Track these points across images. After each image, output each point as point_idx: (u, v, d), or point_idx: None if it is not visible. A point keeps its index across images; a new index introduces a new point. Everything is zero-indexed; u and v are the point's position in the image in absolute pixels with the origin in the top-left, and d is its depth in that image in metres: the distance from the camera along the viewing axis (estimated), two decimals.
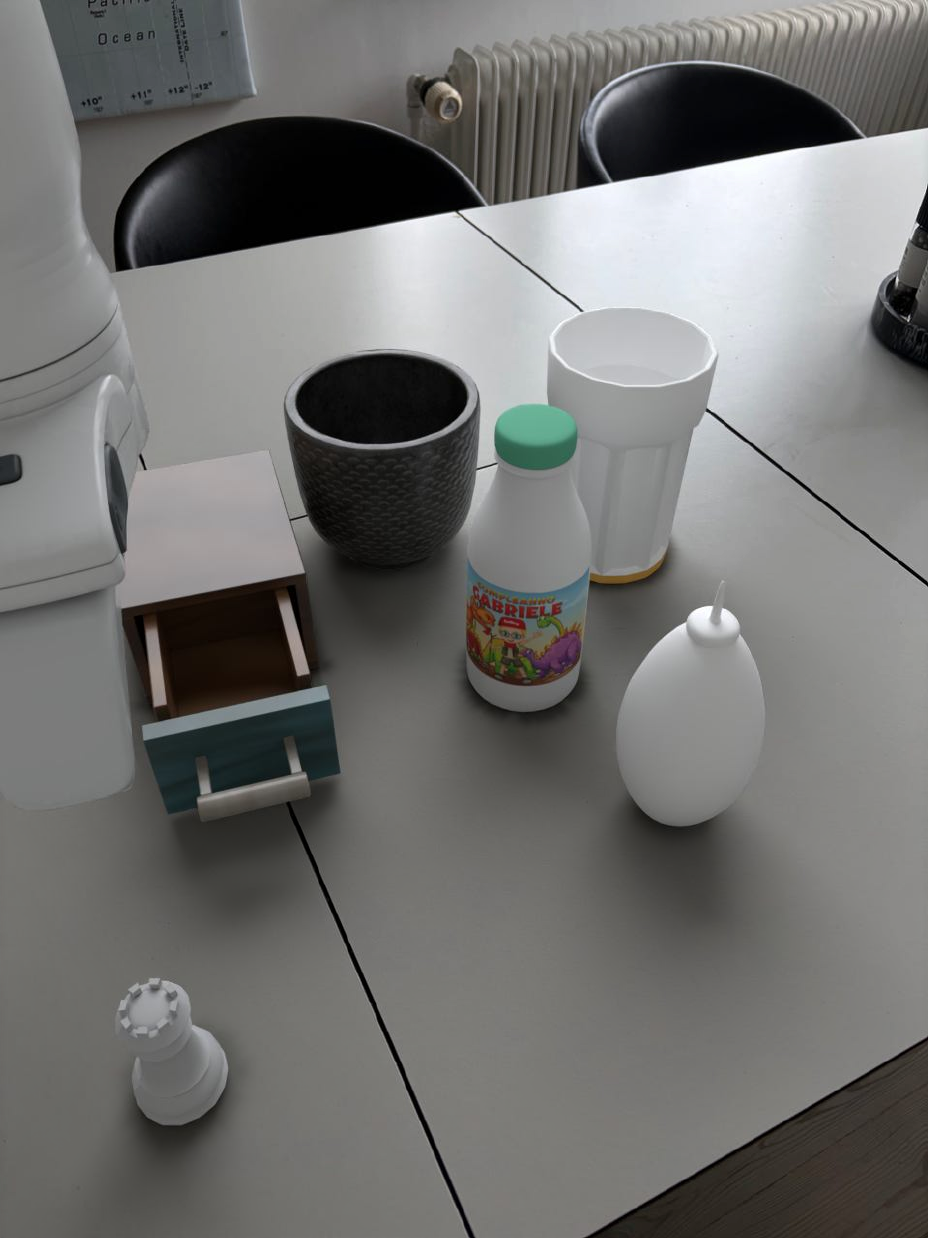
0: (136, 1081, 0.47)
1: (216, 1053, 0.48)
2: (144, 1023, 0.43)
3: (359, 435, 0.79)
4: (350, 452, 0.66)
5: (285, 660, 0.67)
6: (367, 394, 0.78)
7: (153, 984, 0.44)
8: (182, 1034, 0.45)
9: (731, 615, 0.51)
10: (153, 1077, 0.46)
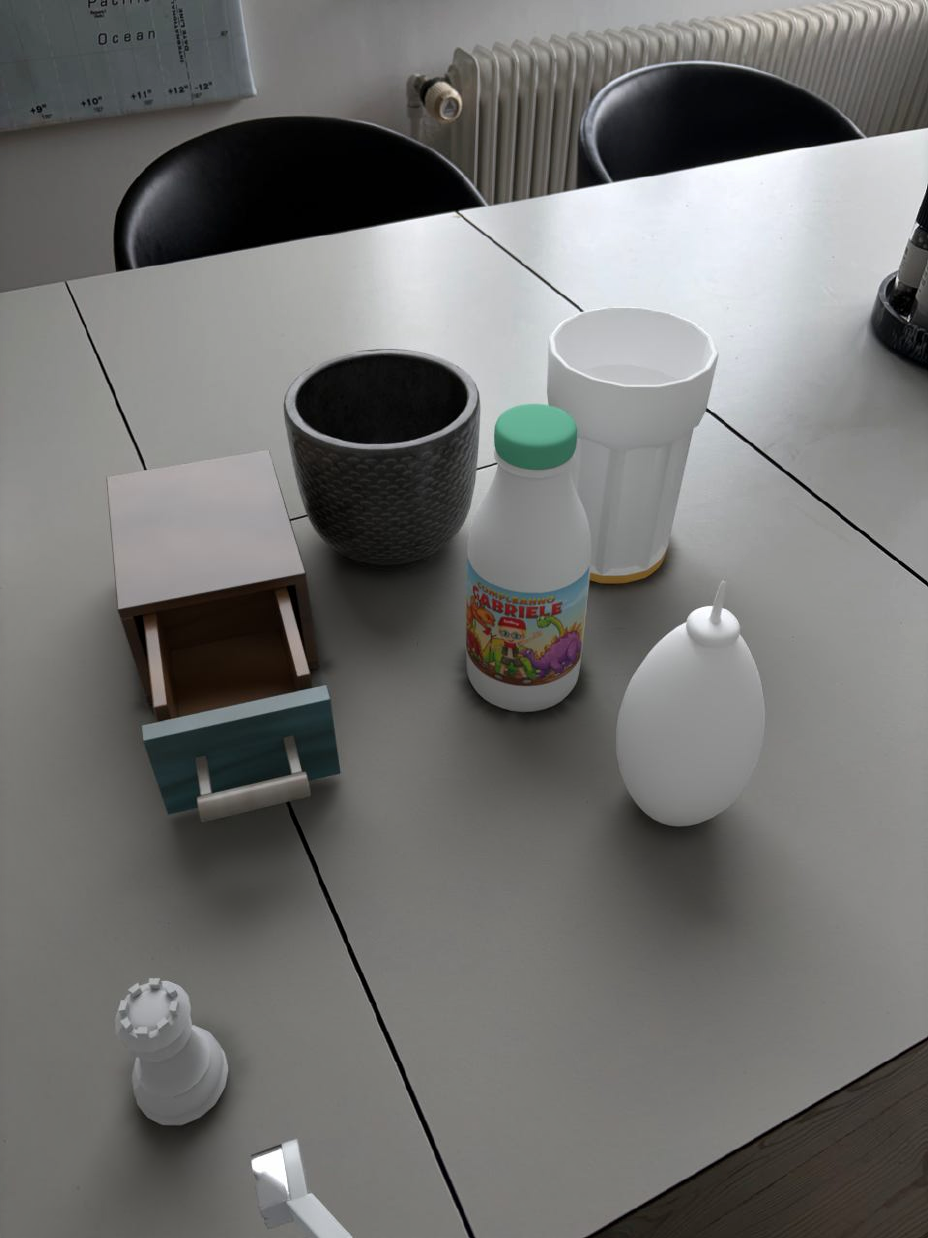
0: (136, 1081, 0.47)
1: (216, 1053, 0.48)
2: (144, 1023, 0.43)
3: (359, 435, 0.79)
4: (350, 451, 0.66)
5: (285, 660, 0.67)
6: (367, 394, 0.78)
7: (153, 984, 0.44)
8: (182, 1034, 0.45)
9: (731, 615, 0.51)
10: (153, 1077, 0.46)
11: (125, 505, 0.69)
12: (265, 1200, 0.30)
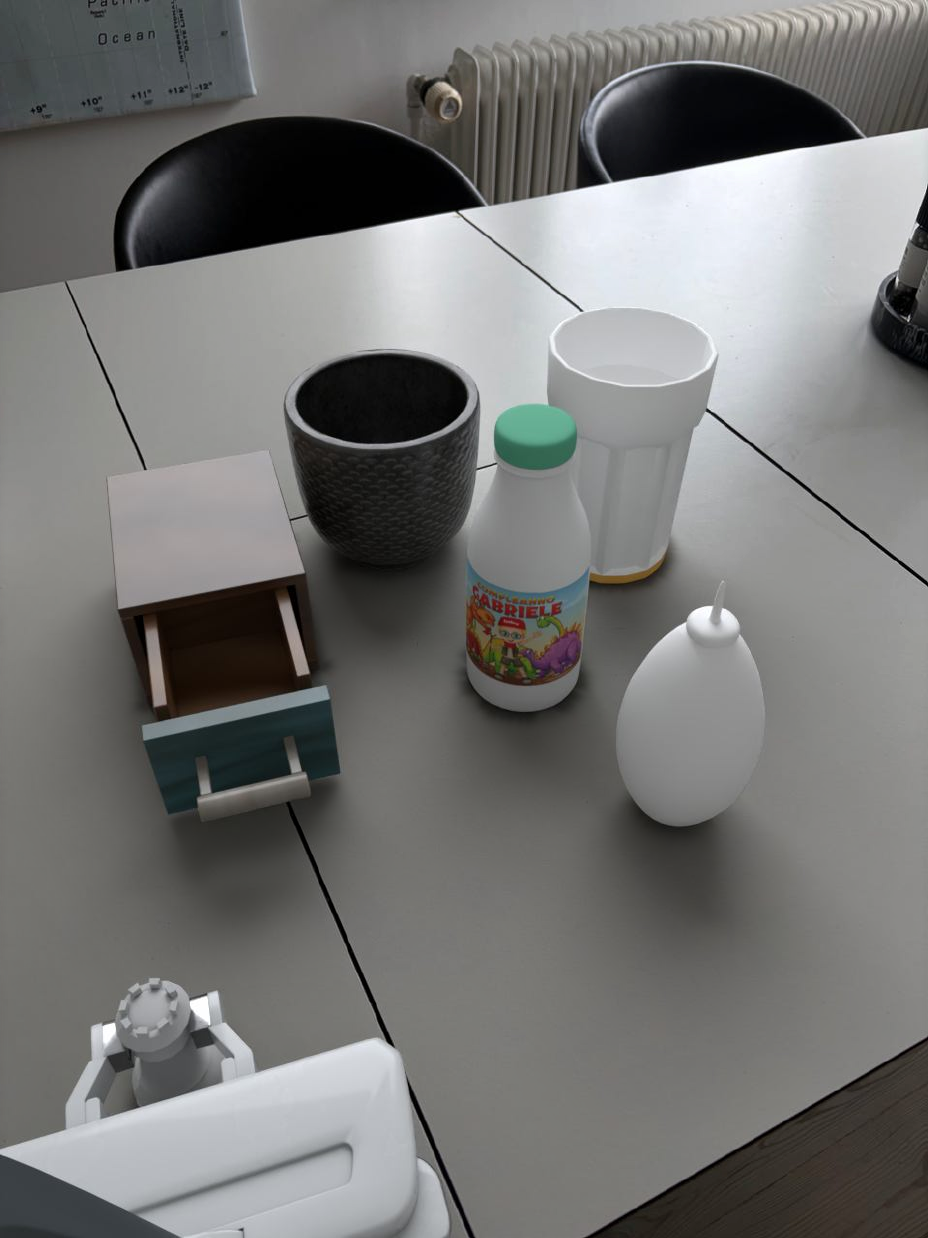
0: (136, 1081, 0.47)
1: (216, 1053, 0.48)
2: (144, 1023, 0.43)
3: (359, 435, 0.79)
4: (350, 451, 0.66)
5: (285, 660, 0.67)
6: (367, 394, 0.78)
7: (153, 984, 0.44)
8: (182, 1034, 0.45)
9: (731, 615, 0.51)
10: (153, 1077, 0.46)
11: (125, 505, 0.69)
12: (194, 1026, 0.44)
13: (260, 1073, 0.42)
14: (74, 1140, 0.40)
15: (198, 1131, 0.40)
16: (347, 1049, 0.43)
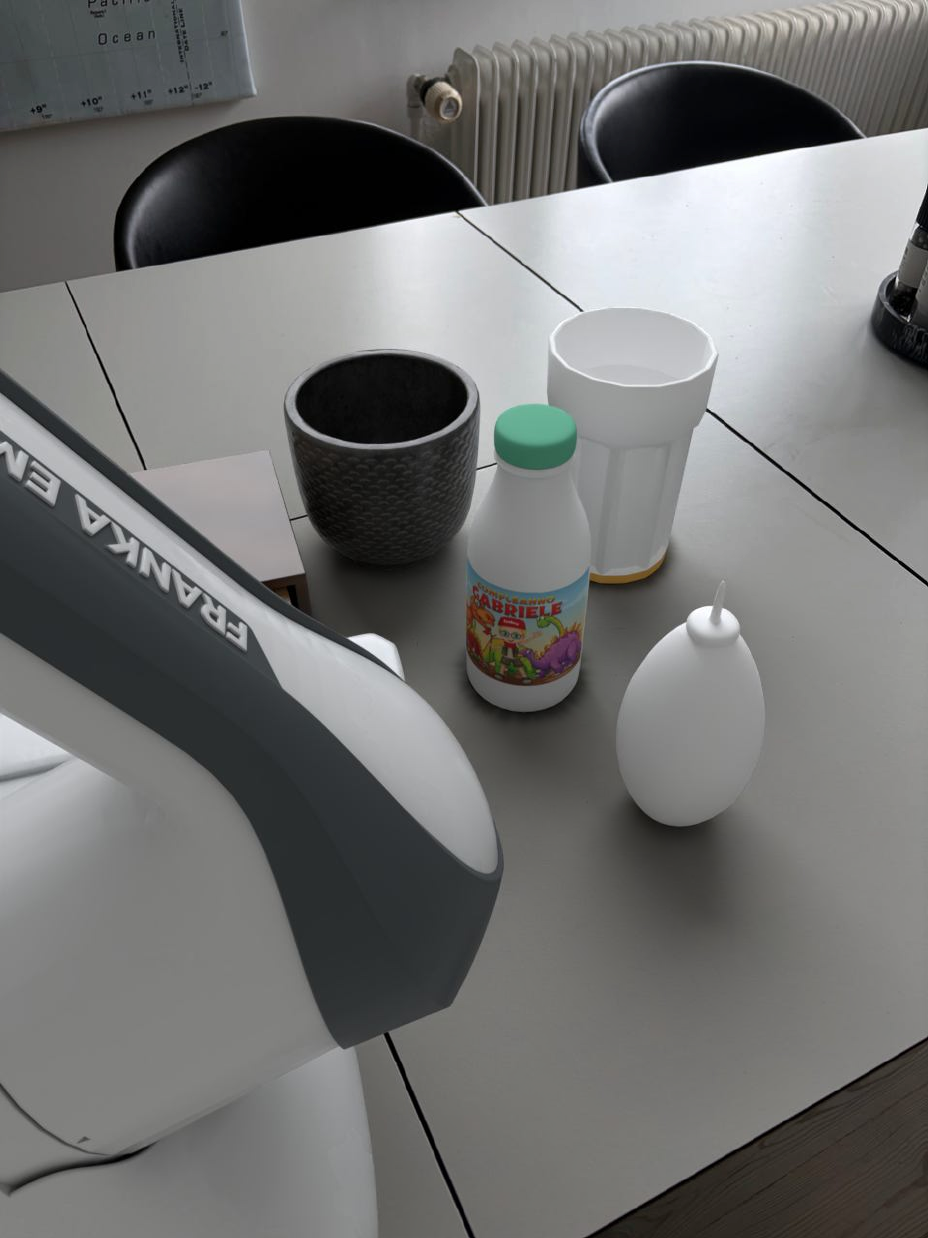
0: None
1: None
2: None
3: (359, 435, 0.79)
4: (350, 452, 0.66)
5: None
6: (367, 394, 0.78)
7: None
8: None
9: (731, 615, 0.51)
10: None
11: None
12: None
13: None
14: None
15: None
16: None
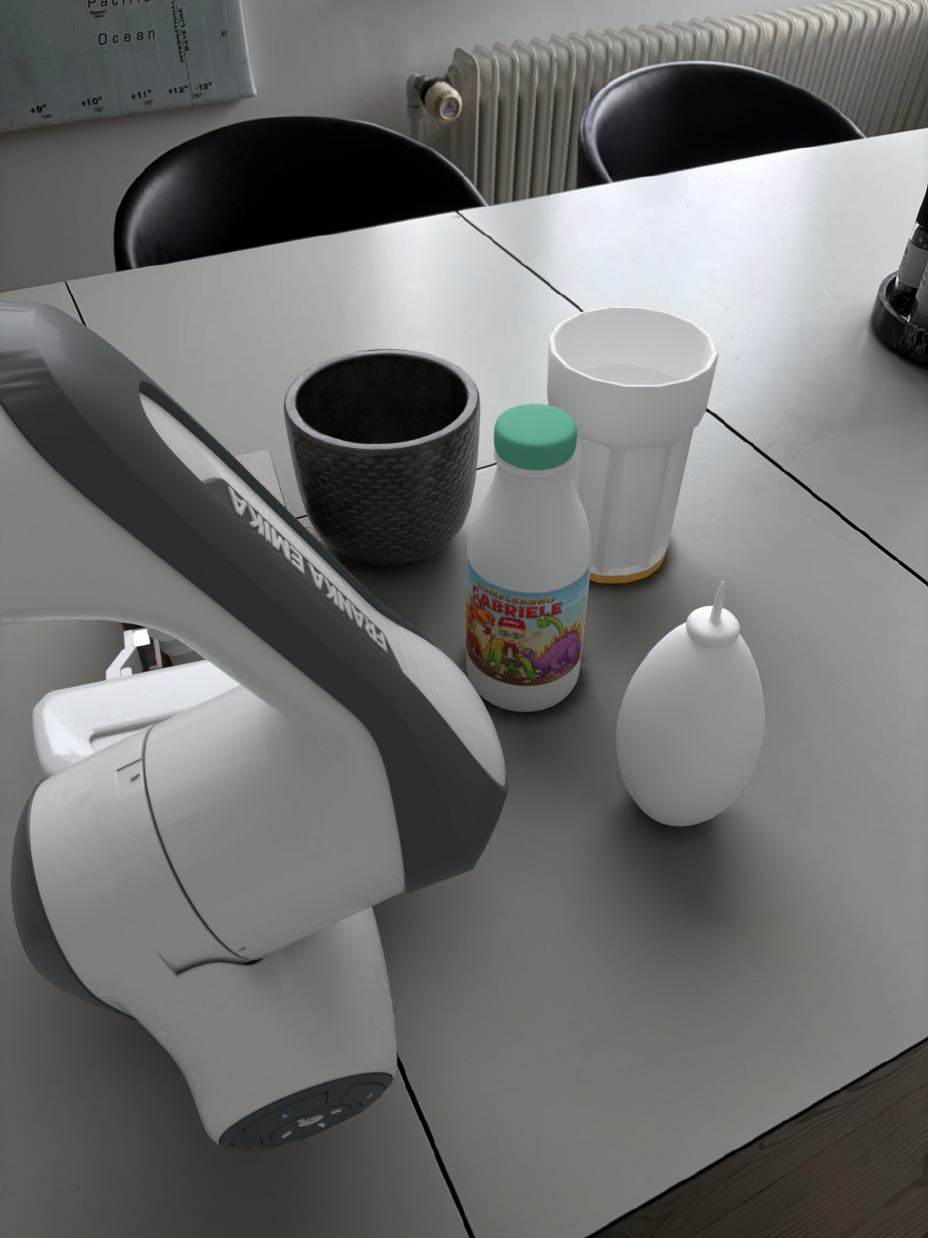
0: None
1: None
2: None
3: (359, 435, 0.79)
4: (350, 451, 0.66)
5: None
6: (367, 394, 0.78)
7: None
8: None
9: (731, 615, 0.51)
10: None
11: None
12: None
13: None
14: (161, 673, 0.54)
15: None
16: None
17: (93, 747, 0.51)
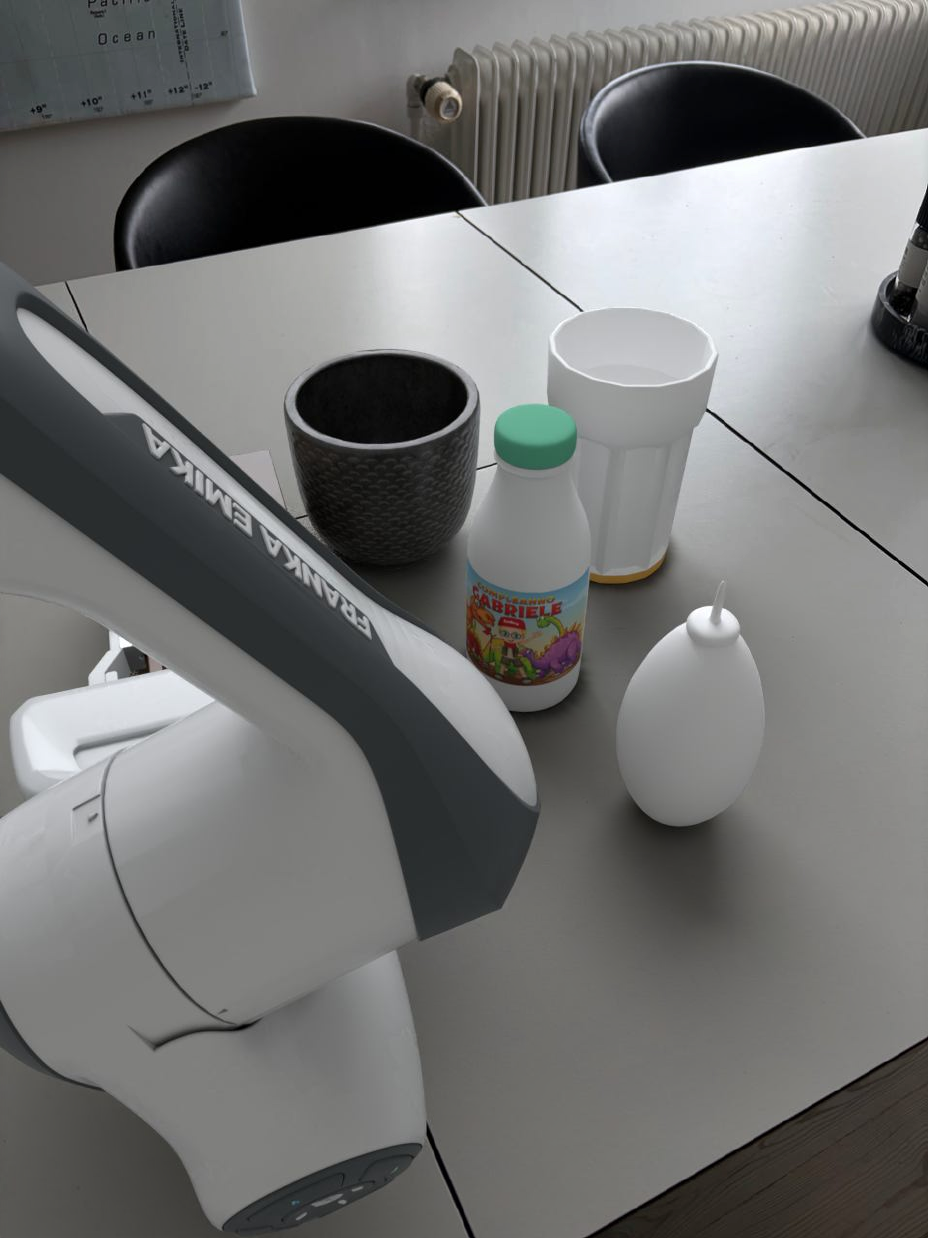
0: None
1: None
2: None
3: (359, 435, 0.79)
4: (350, 451, 0.66)
5: None
6: (367, 394, 0.78)
7: None
8: None
9: (731, 615, 0.51)
10: None
11: None
12: None
13: None
14: (154, 677, 0.48)
15: None
16: None
17: (78, 760, 0.45)
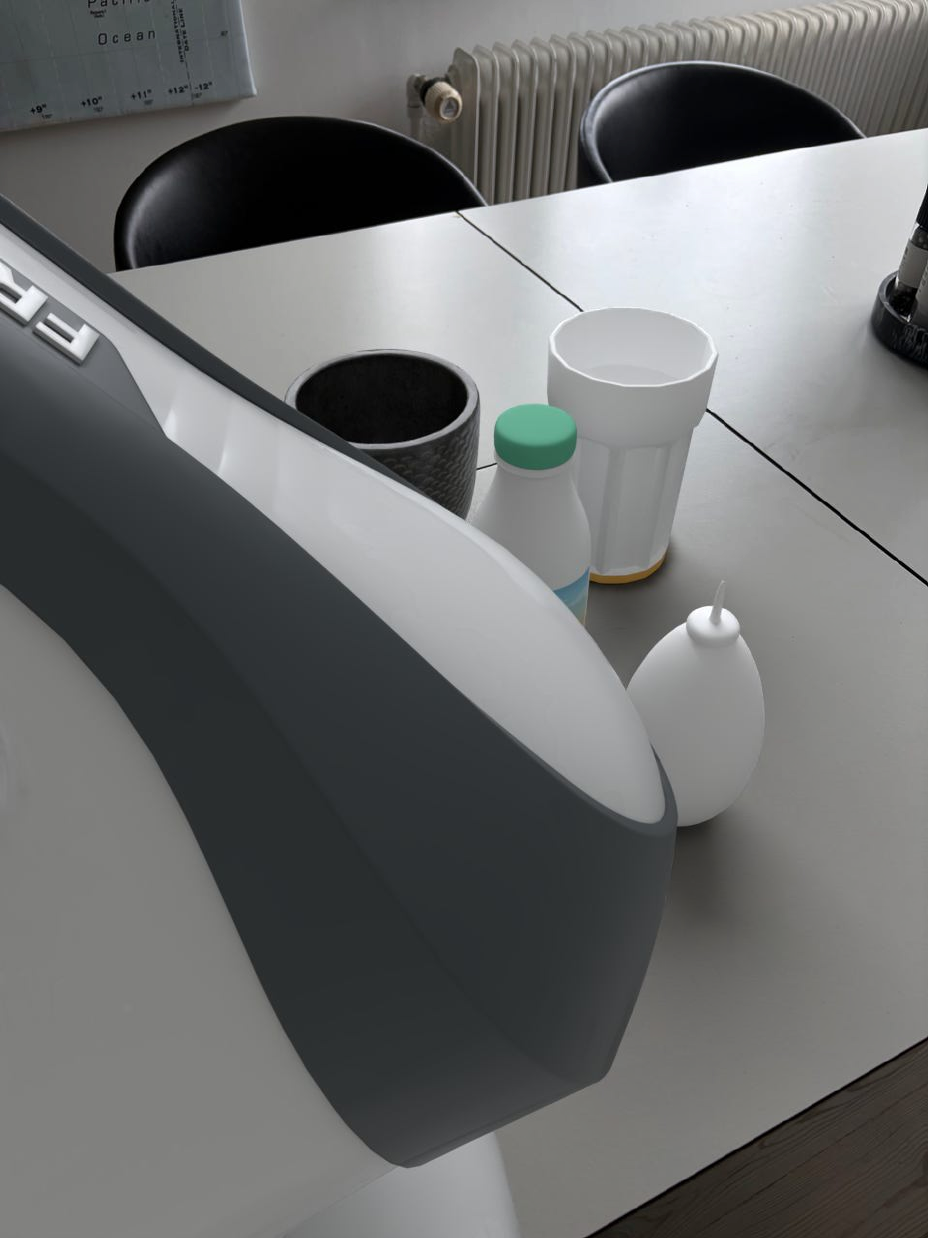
0: None
1: None
2: None
3: (359, 435, 0.79)
4: None
5: None
6: (367, 394, 0.78)
7: None
8: None
9: (731, 615, 0.51)
10: None
11: None
12: None
13: None
14: None
15: None
16: None
17: None
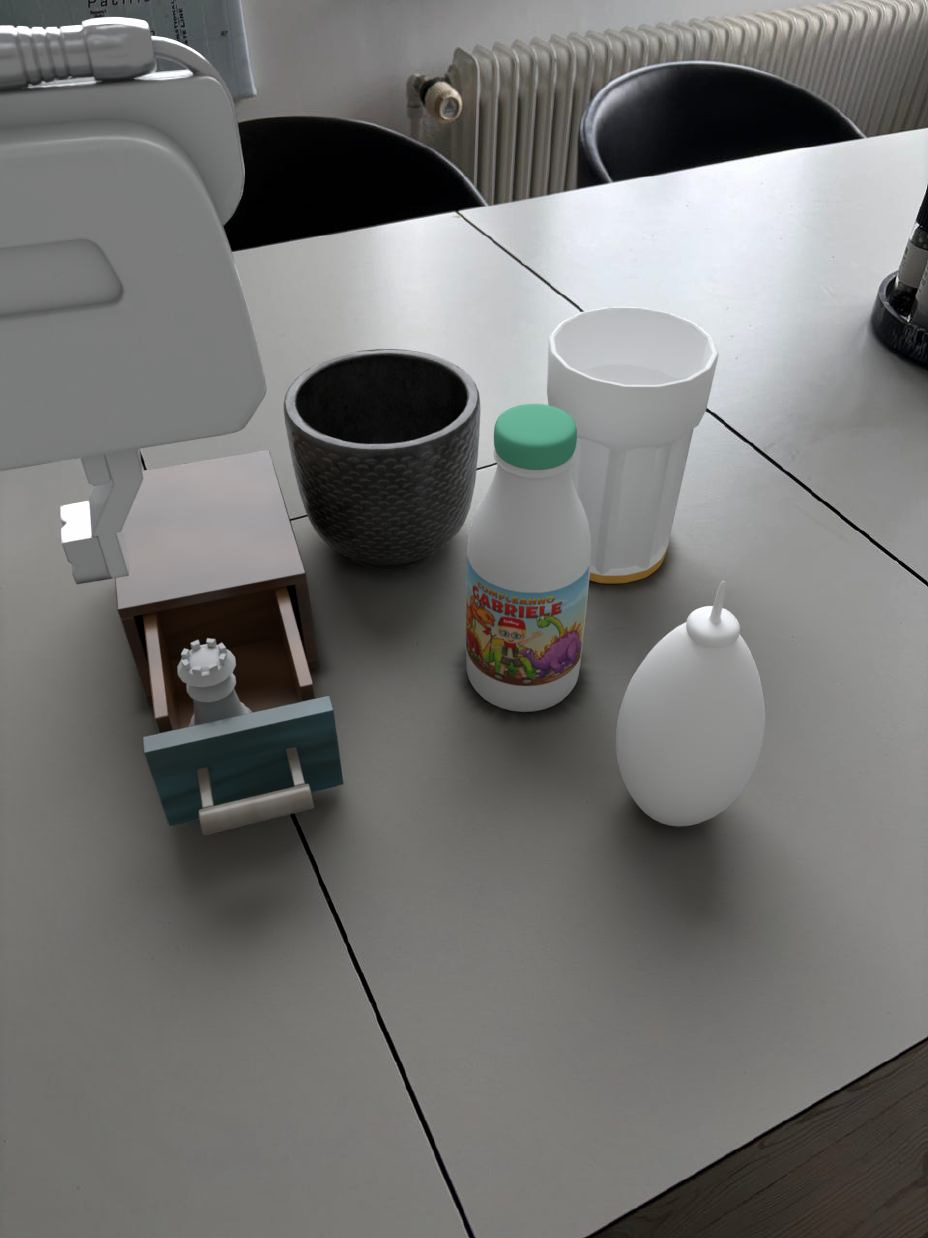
0: None
1: None
2: (199, 665, 0.56)
3: (359, 435, 0.79)
4: (350, 451, 0.66)
5: (287, 669, 0.66)
6: (367, 394, 0.78)
7: (209, 642, 0.57)
8: (227, 686, 0.57)
9: (731, 615, 0.51)
10: (202, 722, 0.58)
11: None
12: None
13: None
14: None
15: None
16: None
17: None
